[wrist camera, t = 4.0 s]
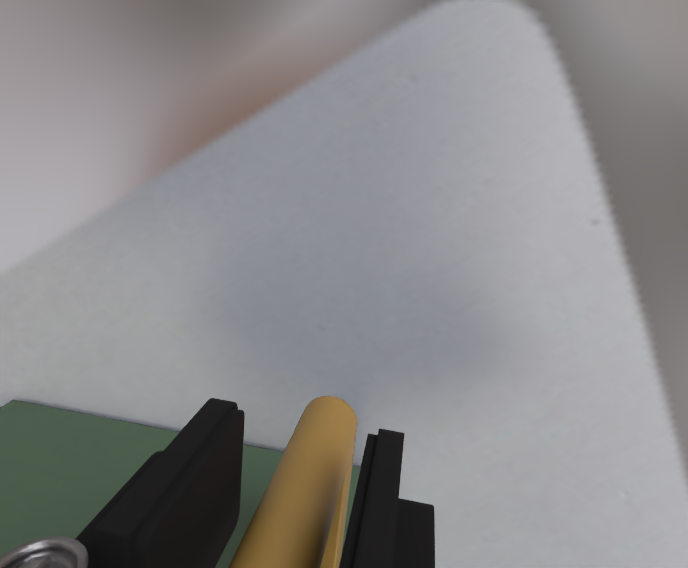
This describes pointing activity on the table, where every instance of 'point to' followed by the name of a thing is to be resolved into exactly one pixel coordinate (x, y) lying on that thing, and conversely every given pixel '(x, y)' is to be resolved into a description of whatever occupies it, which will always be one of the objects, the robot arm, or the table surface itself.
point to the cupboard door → (143, 441)
